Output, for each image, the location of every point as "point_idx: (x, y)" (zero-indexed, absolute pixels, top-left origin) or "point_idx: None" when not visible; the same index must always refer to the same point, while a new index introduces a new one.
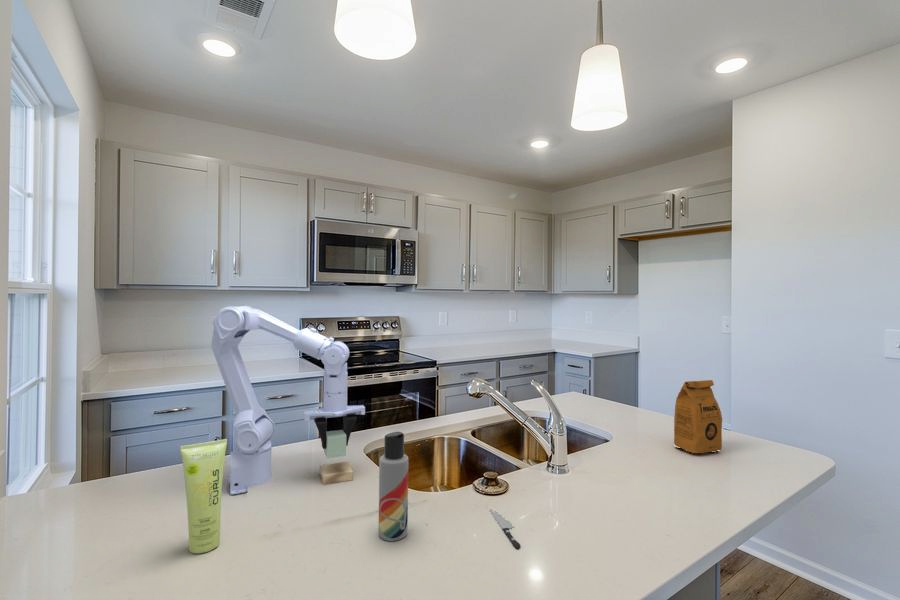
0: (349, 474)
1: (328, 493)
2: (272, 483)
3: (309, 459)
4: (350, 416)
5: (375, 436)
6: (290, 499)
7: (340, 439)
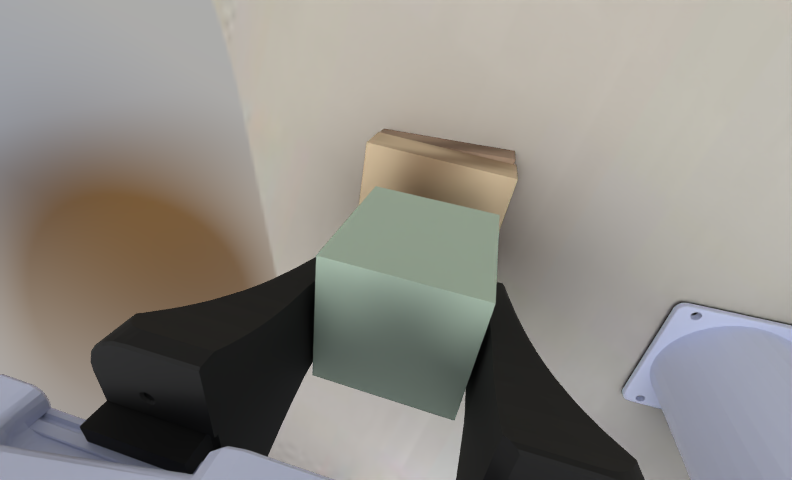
0: (387, 143)
1: (510, 114)
2: (654, 337)
3: None
4: (160, 423)
5: None
6: (689, 158)
7: (380, 251)
